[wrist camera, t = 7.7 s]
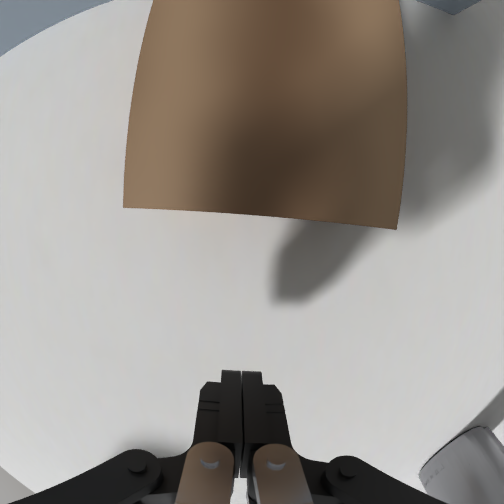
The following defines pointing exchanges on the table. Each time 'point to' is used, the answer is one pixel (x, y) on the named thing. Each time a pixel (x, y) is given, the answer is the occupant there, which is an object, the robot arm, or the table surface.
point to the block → (270, 110)
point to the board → (71, 3)
